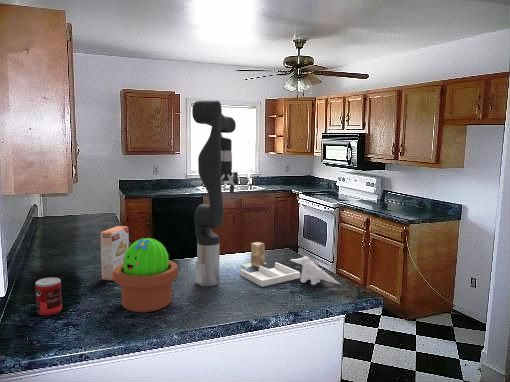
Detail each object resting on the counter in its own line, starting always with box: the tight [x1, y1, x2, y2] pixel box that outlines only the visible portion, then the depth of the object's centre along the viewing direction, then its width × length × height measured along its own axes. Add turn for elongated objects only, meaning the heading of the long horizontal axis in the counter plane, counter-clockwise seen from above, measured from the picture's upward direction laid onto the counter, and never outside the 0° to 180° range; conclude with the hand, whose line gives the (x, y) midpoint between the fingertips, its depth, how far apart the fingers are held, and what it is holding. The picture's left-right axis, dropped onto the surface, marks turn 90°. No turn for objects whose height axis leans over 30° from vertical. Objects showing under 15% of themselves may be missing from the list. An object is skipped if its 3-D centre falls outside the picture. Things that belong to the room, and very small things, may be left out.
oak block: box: [250, 241, 266, 268], centre depth 195 cm, size 4×4×11 cm
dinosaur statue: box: [290, 255, 341, 285], centre depth 172 cm, size 7×24×11 cm, turn 54°
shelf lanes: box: [239, 261, 301, 287], centre depth 180 cm, size 20×17×4 cm
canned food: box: [35, 277, 63, 317], centre depth 143 cm, size 8×8×11 cm
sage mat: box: [240, 261, 267, 269], centre depth 196 cm, size 12×12×1 cm
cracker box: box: [100, 225, 130, 281], centre depth 181 cm, size 14×6×21 cm, turn 168°
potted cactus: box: [113, 237, 179, 313], centre depth 150 cm, size 22×22×25 cm
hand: (223, 193), depth 199 cm, fingers open, 8 cm apart
